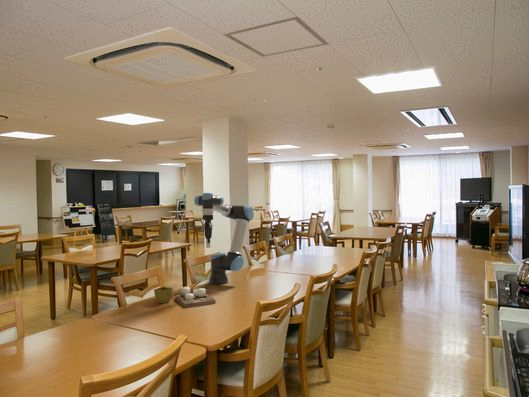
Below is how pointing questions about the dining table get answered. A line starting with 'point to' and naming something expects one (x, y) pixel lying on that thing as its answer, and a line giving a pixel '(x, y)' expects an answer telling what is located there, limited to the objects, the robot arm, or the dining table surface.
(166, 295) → the flower pot
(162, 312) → the dining table surface
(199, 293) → the white egg
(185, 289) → the white egg
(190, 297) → the cream rounded oval
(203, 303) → the egg tray
